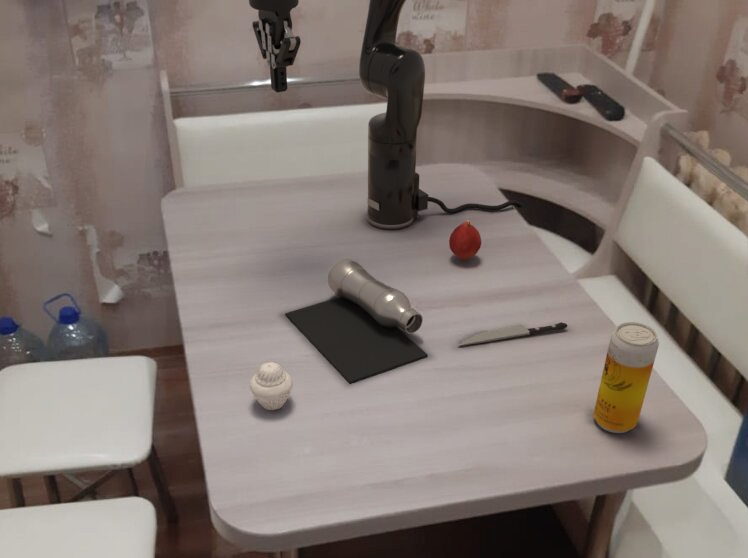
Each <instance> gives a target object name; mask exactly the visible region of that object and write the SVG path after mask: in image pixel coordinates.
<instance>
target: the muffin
mask: <svg viewBox="0 0 748 558" xmlns="http://www.w3.org/2000/svg"><path fill="white" fill-rule="evenodd" d="M257 369H258V370H257V372H256V373H255V374H254V375H253V376H252V377H251V379H250V381H249V390H250V392H251V394H252V395H253V396H252V397H254V398H255V399H256V401H257V402H258V403H259V404H260V406H261V407H262V408H264V409H265V410H267V411H277V410H279V409H281V408H282V407H283V406H284V405H285V403H286V402H287V400H288V398H289V396H290V394H291V393H292V389H293V379H292V377H291V375H290V374H289V373H287V372H286V371H285V370H284V369H283V367H282V366H281V365H280V364H278V363H277V362H273V361H271V362H269V361H267V362H264V363H263V364H261V365H260V366H259V367H258V368H257Z"/></svg>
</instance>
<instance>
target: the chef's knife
mask: <svg viewBox="0 0 748 558" xmlns="http://www.w3.org/2000/svg"><path fill="white" fill-rule="evenodd" d="M566 328H568V324H567V323H565V322H558V323H554V324H551V325H546V326H538V327H530V328H527V327H525V326H523V325H522V324H518V325H513V326H509V327H508V326H507V327H502V328H497V329H492V330H488V331H483V332H480V333H477V334H474V335H472V336H471V337H468V338H466V339H464V340H463V341H461V342H460V343H459V344H458V345H457V346H458V347H461V346H467V345H468V346H469V345H477V344H481V343H488V342H493V341H499V340H506V339H511V338H518V337H523V336H528V335H529V336H530V335H536V334H541V333H546V332H552V331H557V330H564V329H566Z"/></svg>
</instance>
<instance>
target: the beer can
mask: <svg viewBox="0 0 748 558" xmlns="http://www.w3.org/2000/svg"><path fill="white" fill-rule="evenodd" d="M659 345H660V342H659V339H658V334H657V331H656V330H655V329H654V328H653V327H651V326H649V325H648V324H644V323H641V322H635V321H627V322H623V323H620V324H619V325H617V326H616V327H615V330H613V332H612V333H611V335H610V338H609V343H608V347H607V353H606V357H605V361H604V364H603V366H604V367H603V371H602V375H601V378H600V382H599V387H598V392H597V396H596V401H595V405H594V410H593V418H594V420H595V422H596V423H597V425H598V426H599V427H600V428H601V429H603V430H604V431H606V432H609V433H613V434H623V433H627V432H629V431H631V430H632V429H634V428H636V426H637V425H638V422H639V419H640V415H641V412H642V408H643V405H644V402H645V401H644V400H645V397H646V393H647V390H648V386H649V382H650V379H651V375H652V371H653V367H654V364H655V360H656V357H657V353H658V349H659Z"/></svg>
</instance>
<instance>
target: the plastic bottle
mask: <svg viewBox="0 0 748 558" xmlns="http://www.w3.org/2000/svg"><path fill="white" fill-rule="evenodd" d="M327 283H328V286H329V288H330V289H331V291H332V292H333V293H334V294H335V295H336V296H338V297H343V298H345V299H348V300H350V301H352V302H354V303H356V304H357V305H359V306H360V307H361V308H363V309H364V310H365V311H366V312H368V313H369V314H370V315H371V316H372V317H373V318H374V319H375V320H376V321H377V322H378V323H379V324H380V325H381V326H384V327H388V328H396V327H398V328H399V329H400V330H401V331H404V333H407V334H409V335H411V334H414V333H417V332H418V331H419V330H420V328H421V327H422V324H423V321H424V319H423V318H424V317H423V315H422V314H421V313H420V312H418V311H417V310H416V309H414V308H412V304H411V301H410V299H409V298H408V296H407V295H406V293H404V292H403V291H401V290H400V289H397V288H394V287H392V286H389V285H387V284H385V283H384V282H382V281H380V280H378V279H376V277H374V276H373V275H372V274H371V273H369V272H368V271H367V270H366V269H365V268H364V267H363V266H362V265H361V263H359V262H357V261H355V260H352V259H349V258H348V259H347V258H345V259H341V260H339V261H336V262H335V263H334V264H333V265H332V266H331V267H330V269H329V271H328V274H327Z"/></svg>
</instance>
